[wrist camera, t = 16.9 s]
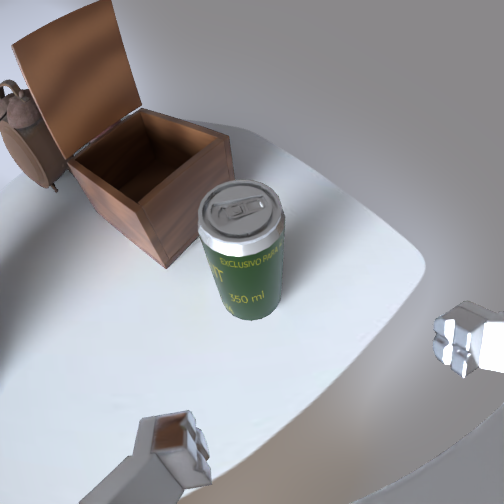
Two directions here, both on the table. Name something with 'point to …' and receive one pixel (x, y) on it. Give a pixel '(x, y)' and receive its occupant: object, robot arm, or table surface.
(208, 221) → the beer can
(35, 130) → the alarm clock
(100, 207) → the chest
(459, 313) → the robot arm
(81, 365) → the table surface
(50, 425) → the table surface
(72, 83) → the lid
